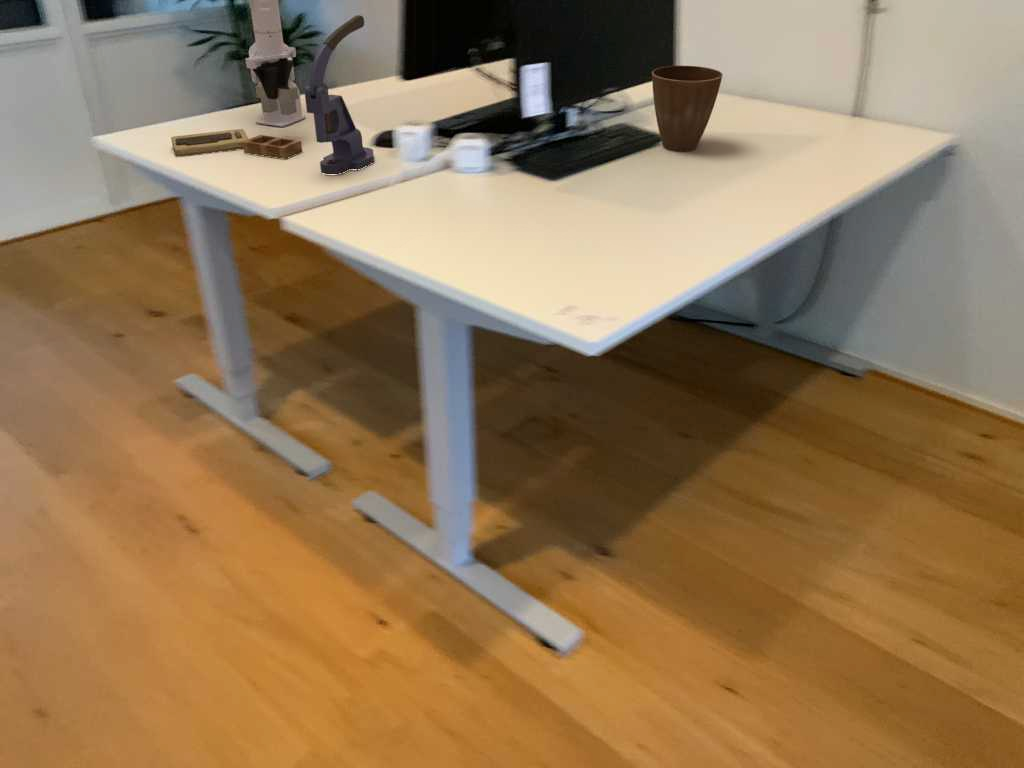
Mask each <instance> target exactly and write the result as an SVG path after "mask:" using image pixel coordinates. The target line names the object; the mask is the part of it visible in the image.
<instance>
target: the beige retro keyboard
mask: <svg viewBox="0 0 1024 768" xmlns="http://www.w3.org/2000/svg"><path fill="white" fill-rule="evenodd" d="M248 139H249V137H248V135H247V133H246V131H245V130H244V128H240V129H239V128H237V129H227V130H218V131H209V132H201V133H193V134H184V135H176V136H175V135H174V136H171V137H170V140H171V143H172V145H171V146H172V149H173V151H174V154H175V156H176V157H177V158H178V156H180V157H186V155H189V156H195V154H197V155H204V154H203V153H206V154H213V153H212V152H215V153H220V152H219V151H223V152H229V151H228V150H232V151H237V150H236V149H241V150H244V149H243V141H245V140H248Z"/></svg>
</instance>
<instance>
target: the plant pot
mask: <svg viewBox="0 0 1024 768" xmlns="http://www.w3.org/2000/svg"><path fill="white" fill-rule="evenodd" d="M651 74H652V75H651V78H652V79H651V81H652V95H653V104H654V105H653V106H654V112H655V117H656V118H655V119H656V123H657V127H658V131H659V133H658V134H659V136H660V140H661V143H662V147H663V148H664V149H666V150H668V151H672V150H673V151H672V152H688V151H687V150H691V151H694V150H696V149H697V147H698V145H699V142H700V141H701V139H702V137H703V135H704V133H705V130H706V128H707V126H708V123H709V121H710V118H711V115H712V113H713V111H714V107H715V105H716V104H715V103H716V101H717V97H718V93H719V90H720V87H721V84H722V79H723V72H721V71H720V70H718V69H714V68H710V67H703V66H699V65H698V66H696V65H669V66H668V65H667V66H661V67H658V68H655V69H654V70H652V72H651ZM695 148H696V149H695ZM693 149H694V150H693Z"/></svg>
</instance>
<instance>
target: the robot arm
mask: <svg viewBox="0 0 1024 768" xmlns="http://www.w3.org/2000/svg"><path fill="white" fill-rule="evenodd" d="M248 3H249V9H250V10H251V12H250V13H251V19H252V27H253V33H254V40H255V42H254V43H253V44H252V45H251V46H250V47H249V50H248V56H249V57H247V58H246V57H245V64H246V65H245V66H246V69H250V74H251V75H250V76H251V81H252V82H253V83H254V84H256V85H260V84H262V86H263V88H264V91H265V93H266V96H267V98H268V99H277V87H276V85H284V86H293V87H297V90H298V97H299V99H296V100H295V102H296V110H297V112H296V113H293V114H290V115H283V114H281V110H280V103H279V100H277V103H278V110H277V111H274V112H271V113H267V112H263V110H262V109H261V110H262V115H263V118H262V119H259V120H256V122H255V123H256V124H259V125H266V126H273V127H280V128H282V127H286V126H289V125H291V124H294V123H296V122H298V121H301V120H304V119H306V115H303V108H302V102H301V100H302V99H301V94H300V89H299V88H298V86H297V84H296V83H295V82H294V80H295V71H294V61H293V58H295V57H297V51H296V47H294V46H288V45H287V44H286V43H285V42H284V39H283V30H282V29H283V28H282V23H281V16H280V9H279V7H280V6H279V0H248Z"/></svg>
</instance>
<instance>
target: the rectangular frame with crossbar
mask: <svg viewBox="0 0 1024 768" xmlns="http://www.w3.org/2000/svg"><path fill="white" fill-rule="evenodd" d="M302 147H303V146H302V140H298V139H292V138H291V139H290V138H285V137H277V136H271V135H264V134H259V135H256V136H253V137H251V138H248V140H245V141H243V149H242V150H243V152H245V153H244V154H246V153H251V154H250V155H253V154H257V155H256V156H259V155H264V156H263V157H265V156H271V157H270V158H272V157H277V158H276V159H278V158H284V159H286V158H288V157H290V158H292V157H294V156H293V155H295V154H297V155H299V154H301V153H300V152H302V153H303V148H302ZM298 153H299V154H298ZM291 156H292V157H291ZM295 156H296V155H295ZM284 159H283V160H284ZM288 159H289V158H288ZM286 160H287V159H286Z"/></svg>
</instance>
